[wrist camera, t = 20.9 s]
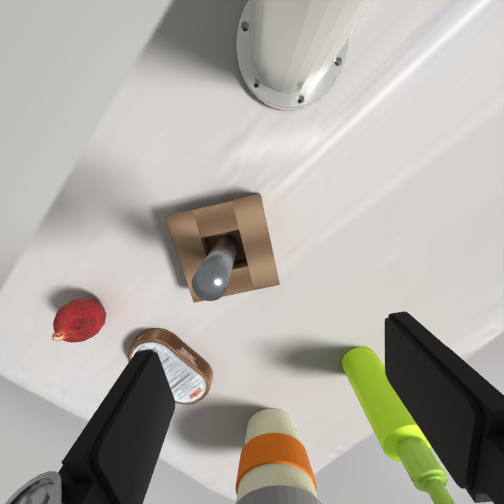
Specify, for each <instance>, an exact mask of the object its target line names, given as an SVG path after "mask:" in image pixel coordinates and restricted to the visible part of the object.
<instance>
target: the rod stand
mask: <svg viewBox="0 0 504 504" xmlns="http://www.w3.org/2000/svg"><path fill="white" fill-rule="evenodd" d="M165 218H166V221H167V224H168V227H169V230H170V233H171V236H172V239H173V242H174V245H175V248H176V251H177V254H178V257H179V260H180V263H181V266H182V269H183V272H184V275H185V278H186V281H187V284H188V287H189V290H190V293H191V296H192V299H193V302H199V301H204V300H203V299H201V298H199V297H198V296H197V295H196V294H195V293H194V291H193V289H192V284H191V283H192V278H193V276H194V274H195V273H196V272H197V270H198V269H199V267H200V266H201V264H202V263H203V261H204V260H205V258H206V257H207V256H208V254H209V253H210V251H211V250H212V248H213V247H214V245H215V244H216V242H217V241H218V240H219V238H220V237H222V236H224V235H230V236H233V237H234V238H235V239H236V240H237V243H238V249H237V252H236V256H235V260H234V263H233V267H232V271H231V274H230V278H229V282H228V286H227V289H226V292H225V294H224V295H223V296H228V295H233V294H238V293H242V292H247V291H252V290H257V289H262V288H266V287H271V286H276V285H280V284H279V279H278V274H277V269H276V265H275V260H274V255H273V251H272V246H271V241H270V236H269V232H268V227H267V222H266V218H265V213H264V208H263V203H262V199H261V195H260V193H259V194H255V195H251V196H246V197H242V198H238V199H234V200H229V201H225V202H221V203H217V204H212V205H208V206H204V207H200V208H195V209H191V210H187V211H183V212H178V213H175V214H172V215H170V216H167V217H165ZM223 296H222V297H223Z"/></svg>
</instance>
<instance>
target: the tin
mask: <svg viewBox="0 0 504 504" xmlns="http://www.w3.org/2000/svg"><path fill="white" fill-rule="evenodd" d="M147 349H152V350H153V351H154V352H157V353H158V355H159V358H160V361H161V363H162V366H163V369H164V371H165V374H166V377H167V380H168V382H169V385H170V388H171V391H172V393H173V396H174V399H175V402H176V403H179V404H187V405H188V404H194V403H196V402H198V401H200V400H202V399H203V398H204V397H205V396H206V395H207V394H208V392H209V389H210V385H211V382H212V379H213V372H212V369H211V367H210V365H209V364H208V363H207V362H206V361H205V360H204V359H203V358H202V357H200V356H199V355H198V354H197V353H196V352H194V351H193V350H192V349H191V348H190V347H189V346H187V345H186V344H185V343H184V342H183V341H182V340H180V339H179V338H178V337H177V336H176V335H175V334H173V333H171V332H169V331H167V330H164V329H149V330H146V331H144V332H142V333H141V334H140V335H139V336H138V337H137V338H136V340H135V342H134V343H133V345H132V346H131V348H130V350H129V353H128V361H130V360H131V358H132V357H133V356H134V354H135V353H136V352H137V351H140V350H147Z"/></svg>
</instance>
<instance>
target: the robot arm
mask: <svg viewBox="0 0 504 504" xmlns="http://www.w3.org/2000/svg"><path fill="white" fill-rule="evenodd" d="M372 1H373V0H248V2H247V4H246V6H245V7H244V9H243V12H242V15H241V17H240V20H239V24H238V29H237V37H236V51H237V59H238V64H239V69H240V72H241V74H242V77H243V79H244V81H245V83H246V85H247V86H248V88H249V90H250V91H251V92H252V93H253V94H254V95H255V96H256V97H257V98H258V99H259V100H260V101H262V102H263V103H264V104H266V105H268V106H271V107H273V108H276V109H280V110H298V109H302V108H305V107H307V106H310V105H312V104H313V103H315V102H316V101H318V100H319V99H321V98H322V97H323V96H324V95H325V94H326V93H327V92H328V91H329V90H330V88H331V87H332V86H333V85H334V83H335V82H336V80H337V78H338V77H339V75H340V73H341V71H342V69H343V66H344V64H345V61H346V56H347V52H348V45H349V36H350V35H351V33H352V32H353V30H354V29H355V27H356V26H357V24H358V23H359V21H360V20H361V18H362V16H363V15H364V13H365V12H366V10H367V9H368V7H369V6H370V4H371V3H372ZM245 29H247V31H244V30H245ZM335 63H337V66H336V65H335ZM255 84H257V85H258V87H257V88H255V87H254V85H255ZM298 100H301V103H298ZM385 374H386V377H387V380H388V381H389V383H390V385H391V386H392V388H393V389H394V391H395V392H396V394H397V395H398V397H399V398H400V400H401V401H402V403H403V404H404V406H405V407H406V409H407V410H408V412H409V413H410V415H411V416H412V418H413V419H414V421H415V422H416V424H417V425H418V427H419V428H420V430H421V431H422V433H423V434H424V436H425V437H426V439H427V440H428V442H429V443H430V445H431V446H432V448H433V449H434V451H435V452H436V454H437V455H438V457H439V459H440V460H441V462H442V463H443V464H444V466H445V468H446V469H447V471H448V472H449V474H450V475H451V476H452V478H453V480H454V481H455V482H456V484H457V485H458V486H459V487H461V488H465V489H466V490H467V491H468V493H469V495H470V496H471V497H472V499H473V501H474V502H475V503H480V502H490V501H493V503H494V504H504V395H503V394H502V393H500V392H499V391H498V390H497V389H496V388H495V387H493V386H492V385H491V384H490V383H489V382H488V381H487V380H485V379H484V378H483V377H482V376H481V375H479V373H477V372H476V371H475V370H474V369H473V368H471V367H470V366H469V365H468V364H467V363H466V362H465V361H464V360H462V359H461V358H460V357H459V356H458V355H457V354H456V353H454V352H453V351H452V350H451V349H450V348H448V347H447V346H446V345H444V344H443V343H442V342H441V341H440V340H439V339H437V338H436V337H435V336H434V335H433V334H432V333H431V332H429V331H428V330H427V329H426V328H425V327H424V326H423V325H421V324H420V323H419V322H418V321H417V320H416V319H415V318H413V317H412V316H411V315H410V314H409V313H407V312H398V313H391V314H389V316H388V318H386V319H385ZM174 409H175V399H174V396H173V393H172V391H171V388H170V385H169V382H168V380H167V377H166V374H165V371H164V369H163V366H162V363H161V361H160V358H159V355H158V353H157V352H154V351H153V350H152V349H147V350H140V351H137V352H136V353H135V354H134V356H133V357H132V358H131V360H130V361H129V363H128V364H127V366H126V367H125V369H124V370H123V372H122V373H121V375H120V376H119V378H118V379H117V381H116V382H115V384H114V385H113V387H112V388H111V390H110V391H109V393H108V394H107V396H106V397H105V399H104V400H103V402H102V403H101V405H100V406H99V407H98V409H97V410H96V412H95V413H94V415H93V416H92V418H91V419H90V421H89V422H88V424H87V425H86V427H85V428H84V430H83V431H82V433H81V434H80V436H79V437H78V439H77V440H76V442H75V443H74V445H73V446H72V448H71V449H70V451H69V452H68V454H67V455H66V457H65V458H64V459H63V461H62V464H63V466H62V468H61V469H60V471H59V472H58V473H57V472H53V471H52V472H51V471H49V472H46V473H43V474H40V475H38V476H36V477H35V478H33V479H31V480H30V481H29V482H27V483H26V484H25V485H23V486H22V487H21V488H20V489H18V490H17V491H16V492H15V494H13V495H12V496H11V497H10V498H9V499H8V501H7V502H6V503H5V504H143V501H144V498H145V495H146V492H147V489H148V486H149V483H150V480H151V477H152V474H153V471H154V468H155V465H156V463H157V460H158V457H159V454H160V451H161V448H162V445H163V442H164V439H165V436H166V433H167V430H168V427H169V424H170V421H171V418H172V415H173V413H174Z"/></svg>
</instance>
